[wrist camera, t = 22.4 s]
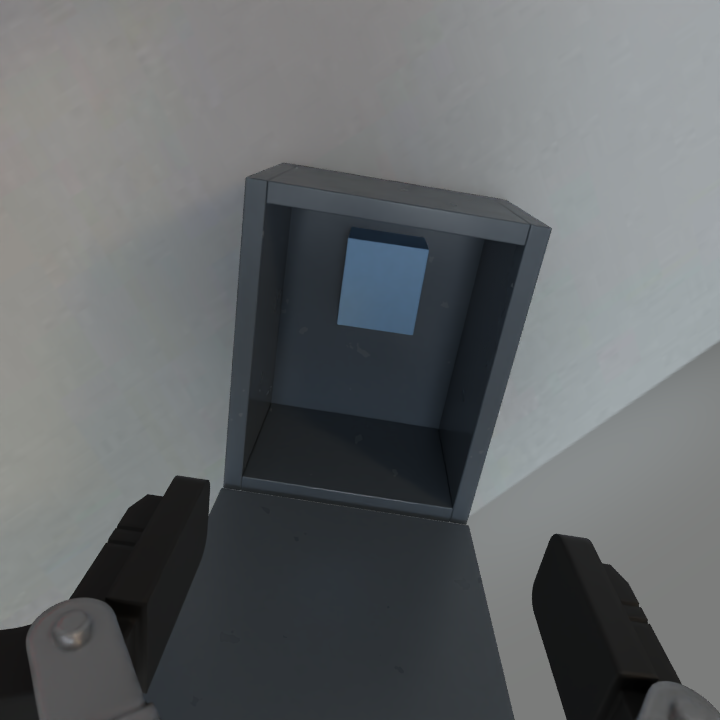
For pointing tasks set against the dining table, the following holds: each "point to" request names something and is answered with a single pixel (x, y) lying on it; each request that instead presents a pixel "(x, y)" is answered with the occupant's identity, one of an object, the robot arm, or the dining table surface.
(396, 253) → the block
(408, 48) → the dining table surface
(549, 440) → the dining table surface
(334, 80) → the dining table surface
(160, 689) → the grey box lid
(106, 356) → the dining table surface
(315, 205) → the grey storage box
